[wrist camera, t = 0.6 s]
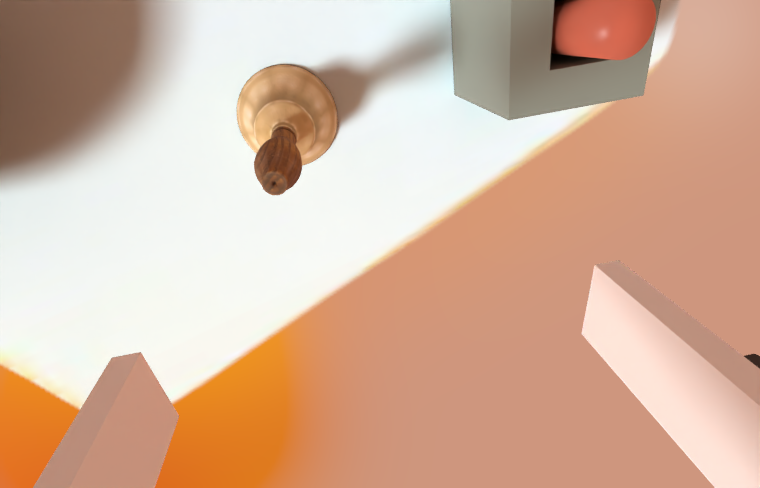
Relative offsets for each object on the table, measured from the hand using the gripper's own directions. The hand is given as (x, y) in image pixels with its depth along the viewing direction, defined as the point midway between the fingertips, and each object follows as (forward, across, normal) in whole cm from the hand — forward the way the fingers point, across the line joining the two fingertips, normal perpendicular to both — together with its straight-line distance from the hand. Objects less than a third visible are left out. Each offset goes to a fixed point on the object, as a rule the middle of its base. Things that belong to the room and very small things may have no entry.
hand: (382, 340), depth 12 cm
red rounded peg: (+20, +15, +6) cm, 26 cm away
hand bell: (+26, -4, +2) cm, 27 cm away
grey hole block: (+26, +15, +6) cm, 31 cm away
